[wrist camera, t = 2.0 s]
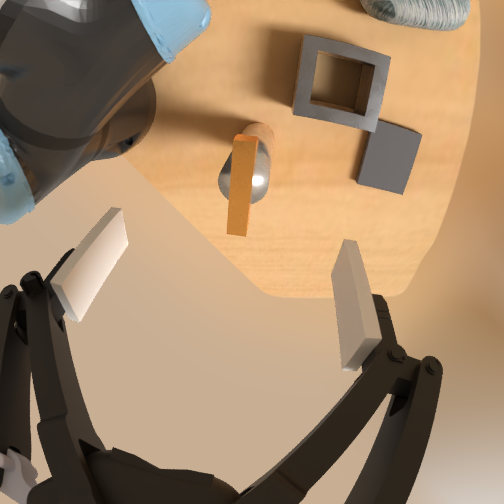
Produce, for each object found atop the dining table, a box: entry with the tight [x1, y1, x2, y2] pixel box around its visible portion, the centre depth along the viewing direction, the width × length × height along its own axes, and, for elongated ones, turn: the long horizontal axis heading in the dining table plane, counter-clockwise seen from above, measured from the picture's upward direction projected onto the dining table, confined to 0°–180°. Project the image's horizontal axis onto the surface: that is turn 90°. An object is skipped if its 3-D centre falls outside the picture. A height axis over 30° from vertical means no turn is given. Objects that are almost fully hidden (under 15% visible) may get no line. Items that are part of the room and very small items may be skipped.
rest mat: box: [356, 120, 422, 195], centre depth 31 cm, size 7×9×1 cm
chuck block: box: [292, 34, 391, 133], centre depth 25 cm, size 9×9×5 cm
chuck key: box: [218, 123, 274, 237], centre depth 27 cm, size 4×8×16 cm, turn 174°
